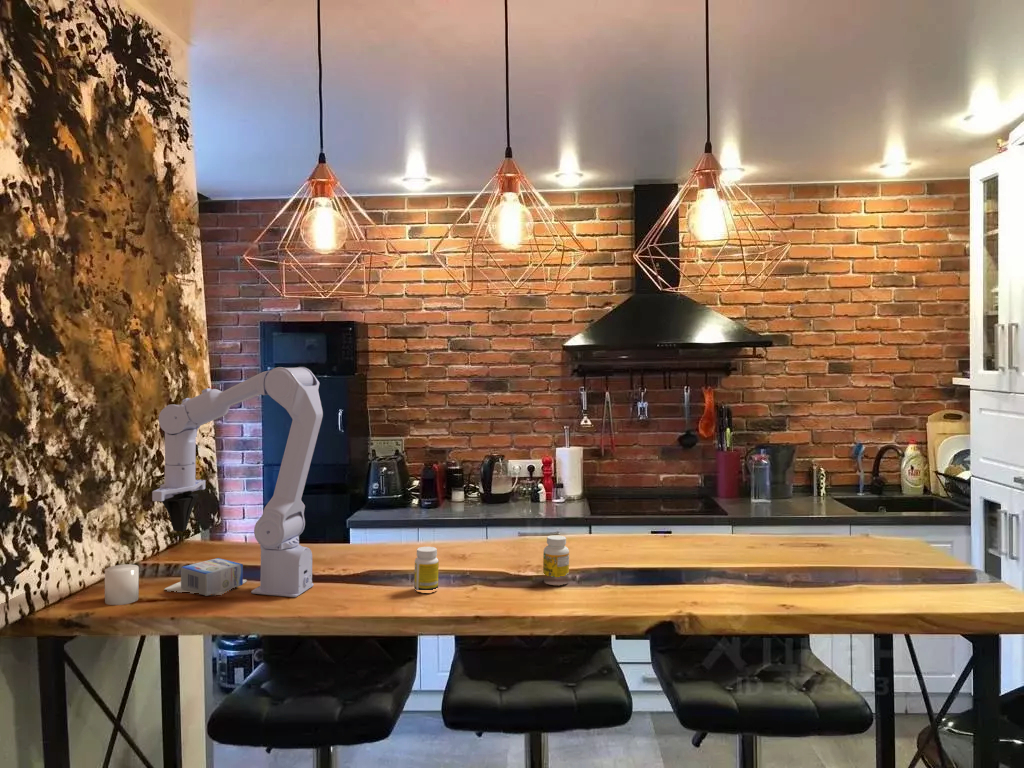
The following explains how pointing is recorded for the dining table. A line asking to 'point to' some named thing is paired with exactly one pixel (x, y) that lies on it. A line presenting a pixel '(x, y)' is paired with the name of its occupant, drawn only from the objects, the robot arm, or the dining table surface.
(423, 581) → the supplement bottle
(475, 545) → the dining table surface
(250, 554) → the dining table surface
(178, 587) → the mat
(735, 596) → the dining table surface
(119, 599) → the white rounded cylinder
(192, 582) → the medicine box
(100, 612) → the dining table surface
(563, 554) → the supplement bottle
